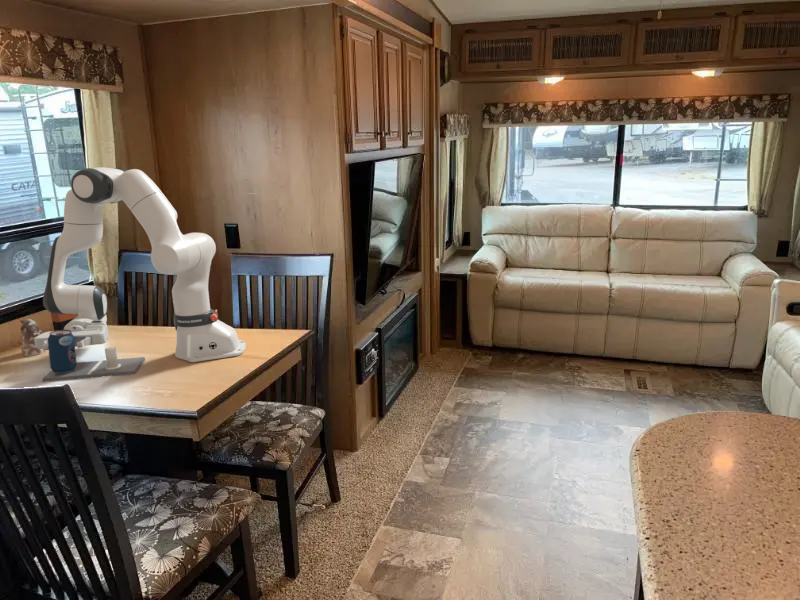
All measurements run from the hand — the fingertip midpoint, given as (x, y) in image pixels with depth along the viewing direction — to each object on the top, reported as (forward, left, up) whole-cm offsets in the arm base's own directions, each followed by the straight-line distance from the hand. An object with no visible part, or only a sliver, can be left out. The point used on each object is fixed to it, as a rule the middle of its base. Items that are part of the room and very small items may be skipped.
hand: (62, 346), depth 177 cm
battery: (+16, -44, -9) cm, 48 cm away
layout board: (-7, -1, -9) cm, 12 cm away
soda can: (+1, 0, -8) cm, 8 cm away
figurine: (+19, -24, -9) cm, 33 cm away
